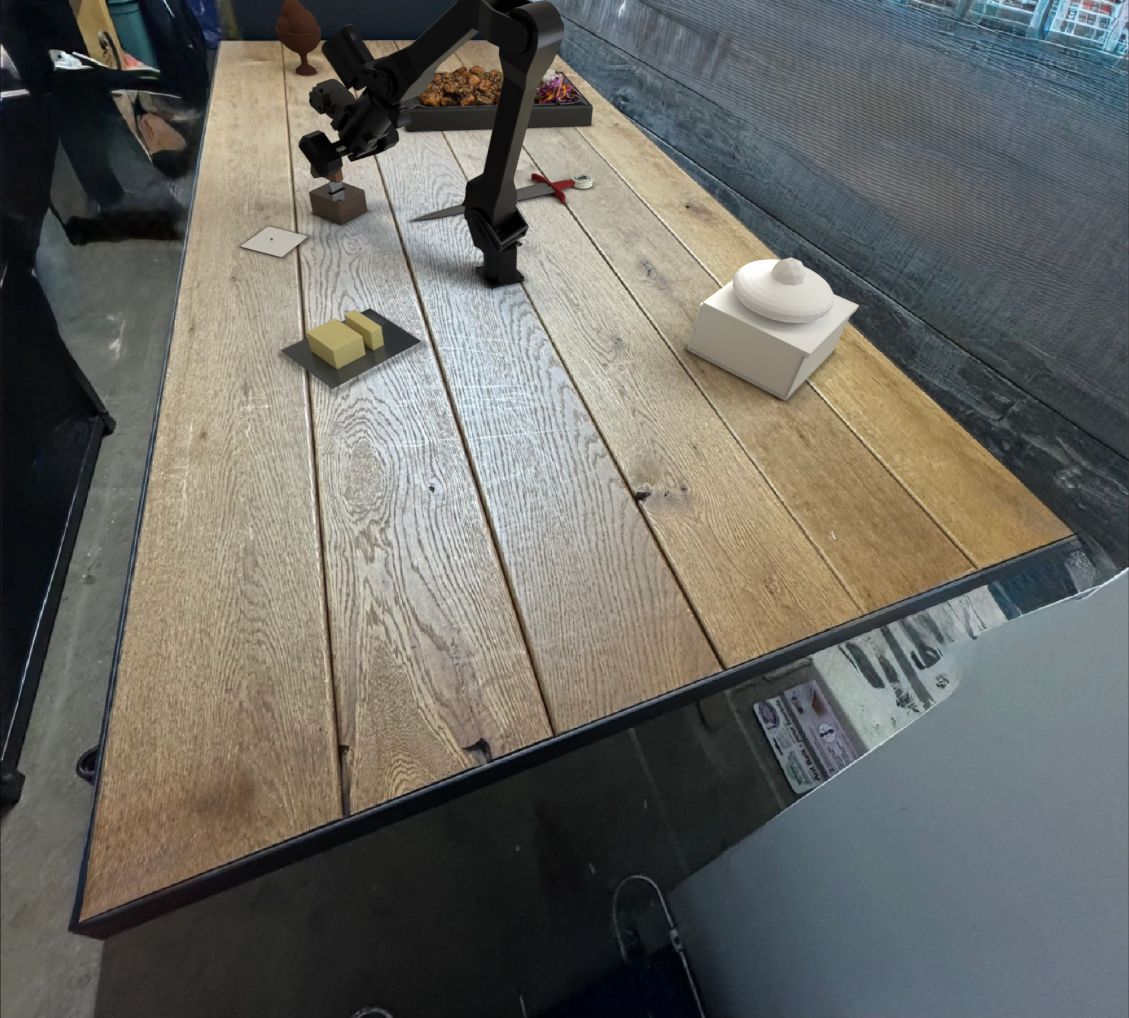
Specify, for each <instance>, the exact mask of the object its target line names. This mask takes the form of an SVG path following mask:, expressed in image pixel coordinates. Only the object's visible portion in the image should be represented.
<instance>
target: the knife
mask: <svg viewBox="0 0 1129 1018" xmlns="http://www.w3.org/2000/svg"><path fill="white" fill-rule="evenodd" d="M338 152H339V151H338ZM342 168H343V167H342ZM342 168H341V169H340V170H339V171H338V173H336V174H333V175H331V176H329V177H326V178H325V180H327V181H328V182H327V183H329V188H330V193H331V195H334V194H336V193H338V192H340V191H342V190H343V187H342V182H343V181H344V176H343V175H344V174H343V169H342Z"/></svg>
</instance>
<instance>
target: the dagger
mask: <svg viewBox="0 0 1129 1018" xmlns="http://www.w3.org/2000/svg"><path fill="white" fill-rule="evenodd" d="M530 180H531V181H535V182H537V183H534V184H531V185H527V186H524V187H520V188H516V191H517V201H520V200H525V199H530V198H535V197H540V196H544V195H548V194H551V195H553V196H555V197H556V198H558V199H559V200H561V203H562V204H565V203H566V199H567V198H566V194H565V193H564V191H563V189H568V188H570V187H573V188H576V189H581V190H582V189H590V188H591V187H592V186H593V182H594V177H593V176H592V175H591V174H588V173H586V172H575V173H571V175H570V179H562V180H557V181H552V182H551V181H550V180H548V179H547V178H546V177H544V176H543V175H540V174H538V173H536V172H535V173H534V172H533V173H531V174H530ZM461 204H462V203H461ZM461 204H455V205H453V206H450V207H446V208H442V209H439V210H436V211H433V212H430V213H427V214H424V215H421V216H420V217H419V216H418V217H417V218H413V219H411V220H410V222H413V221H421V220H428V219H429V220H430V219H434V218H441V217H446V216H447V217H448V216H453V215H457V214H462V213H464V208H465V206H461Z"/></svg>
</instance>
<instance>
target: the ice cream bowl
mask: <svg viewBox="0 0 1129 1018" xmlns="http://www.w3.org/2000/svg"><path fill="white" fill-rule="evenodd" d="M280 10H281V13H280V15H279V16H278V18H277V19H276V25H274V28H275V32H276V34H277V35H276V36H277V37H278V39H279V40H280V42H281V44H283V46H285V47H286V48H287V49H288V50H290V51H291V52H292V53H293V52H294V53H296V54H298V56H299V58H300V64H299V65H297V66H296V67H295V70H294V71H295V74H297V75H299V76H314V75H317V74H318V71H317V68H316V67H314V66H313V65H312V64H310V63H309V61H308V54H310V53H311V52H313V51H315V49H317V48H318V46H319V44H320V43H321V39H322V28H321V26H320V25H319V24H318V21H317V19H316V17H315V15H314V14H313V13H312V12H311V11H310V10H308V9H306V8H305V7H304V5H303V4H302V3H301V2H300V1H299V0H284V1H283V2H282V4H281V8H280Z"/></svg>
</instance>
